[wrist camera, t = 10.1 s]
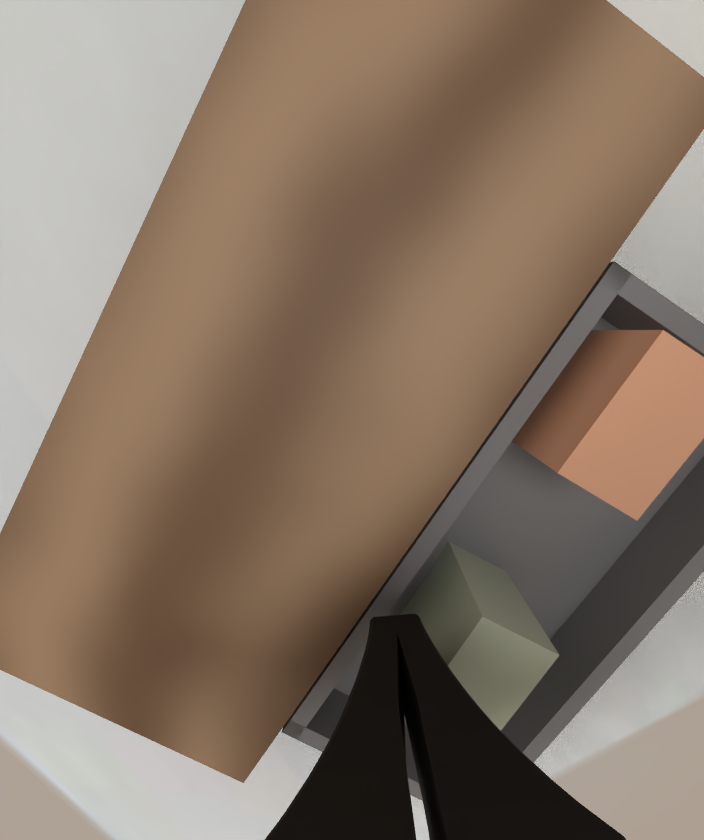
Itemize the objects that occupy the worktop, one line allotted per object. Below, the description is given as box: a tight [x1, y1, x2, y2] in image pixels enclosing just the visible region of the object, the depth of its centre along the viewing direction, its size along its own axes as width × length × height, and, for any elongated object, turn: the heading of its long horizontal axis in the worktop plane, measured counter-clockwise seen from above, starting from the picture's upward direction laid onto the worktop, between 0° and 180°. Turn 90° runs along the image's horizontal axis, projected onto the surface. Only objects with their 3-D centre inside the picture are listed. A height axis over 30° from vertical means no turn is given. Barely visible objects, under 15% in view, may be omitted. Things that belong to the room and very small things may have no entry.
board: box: [0, 0, 704, 783], centre depth 13 cm, size 10×24×3 cm, turn 149°
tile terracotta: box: [512, 330, 704, 520], centre depth 12 cm, size 4×4×2 cm
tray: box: [282, 262, 704, 801], centre depth 14 cm, size 8×18×2 cm, turn 149°
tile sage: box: [400, 541, 559, 731], centre depth 13 cm, size 4×4×2 cm
